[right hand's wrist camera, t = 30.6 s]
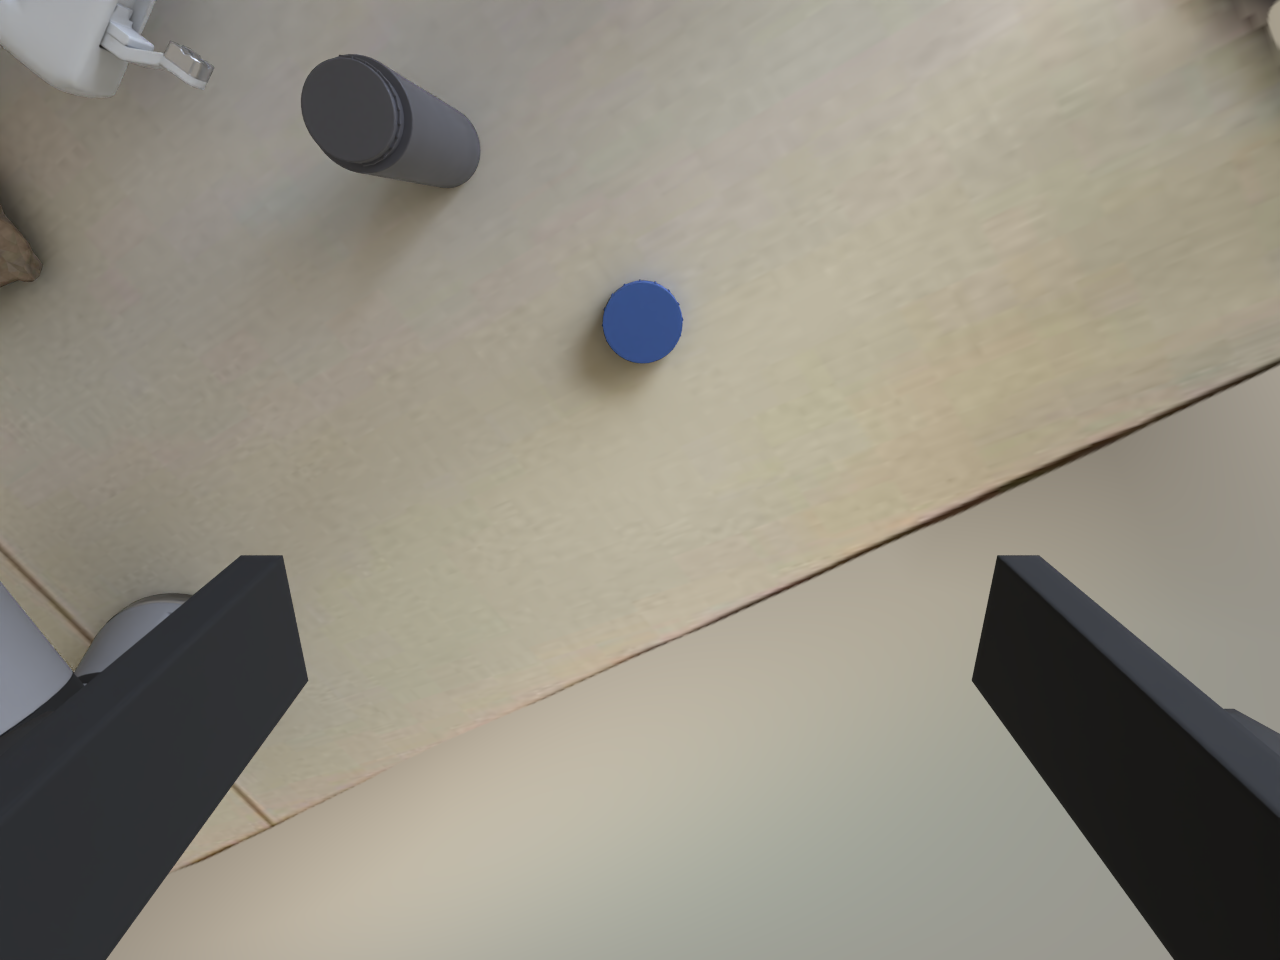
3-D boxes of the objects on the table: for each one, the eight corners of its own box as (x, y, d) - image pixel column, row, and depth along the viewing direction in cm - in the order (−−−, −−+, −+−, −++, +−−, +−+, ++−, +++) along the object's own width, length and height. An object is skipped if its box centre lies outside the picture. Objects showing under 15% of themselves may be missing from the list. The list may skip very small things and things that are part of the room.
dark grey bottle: (480, 190, 48) (405, 176, 32) (406, 184, 48) (297, 166, 32) (480, 108, 46) (401, 52, 31) (403, 101, 46) (286, 41, 31)
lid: (649, 263, 49) (650, 264, 48) (697, 327, 51) (699, 330, 50) (587, 313, 51) (585, 316, 49) (635, 375, 52) (635, 379, 51)
